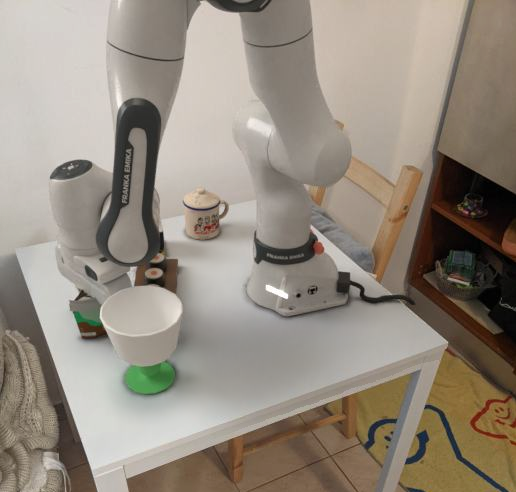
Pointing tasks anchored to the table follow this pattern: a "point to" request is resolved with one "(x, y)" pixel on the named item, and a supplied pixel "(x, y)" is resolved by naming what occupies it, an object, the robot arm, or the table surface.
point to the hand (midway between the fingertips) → (99, 310)
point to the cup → (144, 334)
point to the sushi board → (167, 275)
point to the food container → (87, 316)
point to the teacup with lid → (203, 213)
